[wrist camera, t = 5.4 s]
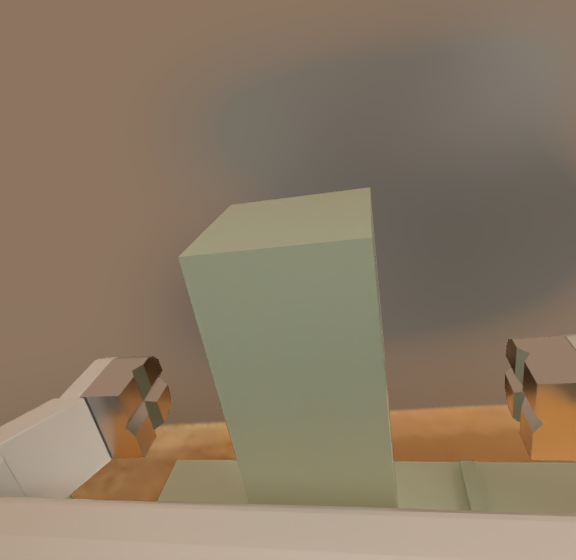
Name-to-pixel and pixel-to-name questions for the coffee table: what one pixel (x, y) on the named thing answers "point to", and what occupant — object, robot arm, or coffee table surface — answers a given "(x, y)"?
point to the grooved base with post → (319, 373)
